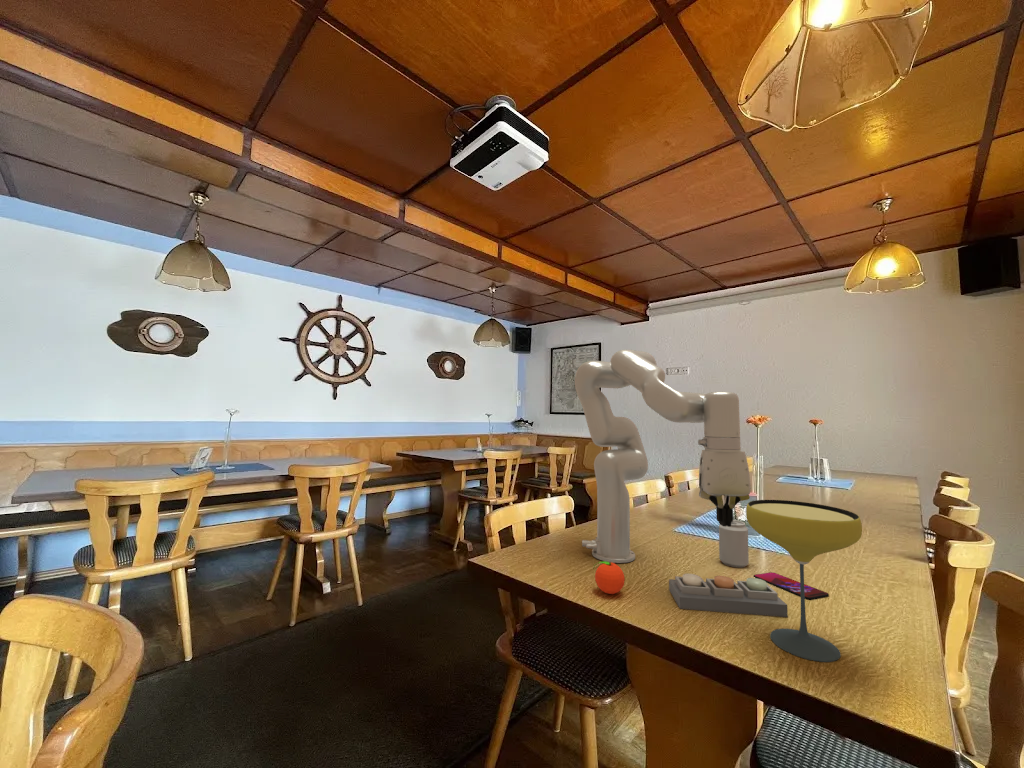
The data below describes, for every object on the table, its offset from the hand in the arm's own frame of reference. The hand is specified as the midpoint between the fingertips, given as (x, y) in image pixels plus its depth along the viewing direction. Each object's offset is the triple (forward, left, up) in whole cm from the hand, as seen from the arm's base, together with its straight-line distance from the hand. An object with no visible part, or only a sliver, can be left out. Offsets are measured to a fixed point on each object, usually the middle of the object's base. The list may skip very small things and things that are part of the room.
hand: (724, 524), depth 96 cm
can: (+12, +27, -18) cm, 35 cm away
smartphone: (+20, +13, -18) cm, 30 cm away
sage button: (+7, 0, -14) cm, 15 cm away
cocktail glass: (+8, -16, -18) cm, 25 cm away
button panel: (0, 0, -18) cm, 18 cm away
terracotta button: (0, 0, -14) cm, 14 cm away
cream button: (-7, 0, -14) cm, 16 cm away
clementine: (-26, +1, -18) cm, 32 cm away
